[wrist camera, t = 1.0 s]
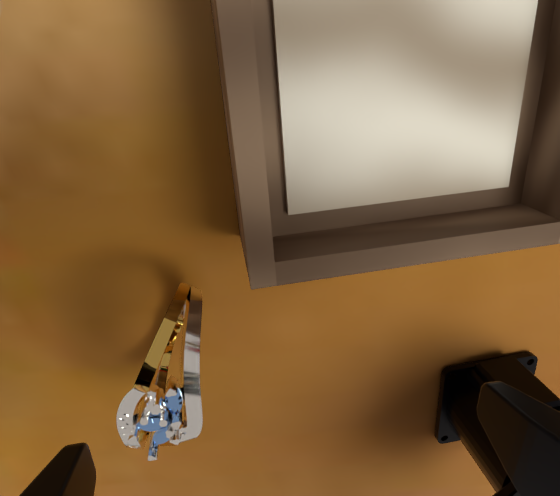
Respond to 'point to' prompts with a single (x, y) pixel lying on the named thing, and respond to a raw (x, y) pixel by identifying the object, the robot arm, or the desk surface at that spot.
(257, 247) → the base
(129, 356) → the desk surface
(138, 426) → the ring
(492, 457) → the robot arm
